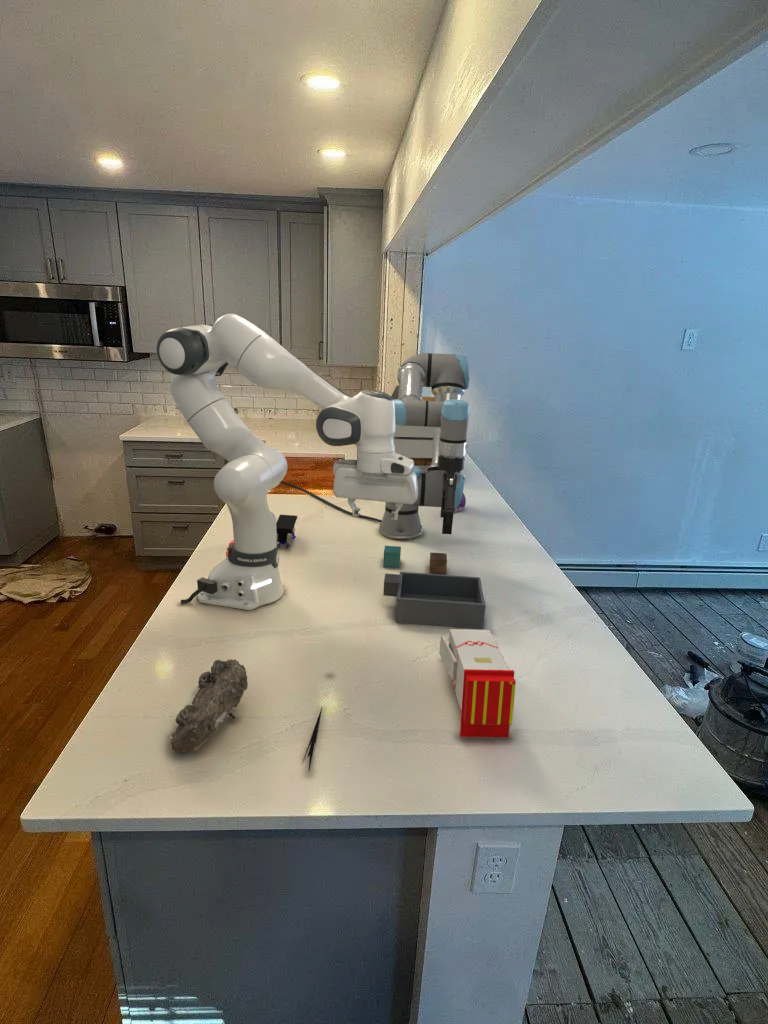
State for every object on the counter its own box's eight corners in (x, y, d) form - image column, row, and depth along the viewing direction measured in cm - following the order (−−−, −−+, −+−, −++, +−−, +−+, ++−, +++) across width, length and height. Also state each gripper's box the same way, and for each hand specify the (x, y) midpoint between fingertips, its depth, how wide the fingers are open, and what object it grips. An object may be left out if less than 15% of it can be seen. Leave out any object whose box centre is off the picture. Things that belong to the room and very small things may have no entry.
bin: (380, 621, 144) (382, 591, 141) (385, 592, 158) (386, 564, 155) (482, 629, 142) (486, 599, 139) (477, 599, 157) (480, 571, 154)
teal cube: (383, 566, 174) (383, 551, 172) (384, 560, 179) (385, 545, 177) (399, 567, 174) (400, 553, 172) (400, 561, 178) (400, 546, 177)
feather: (331, 679, 122) (336, 673, 122) (307, 777, 96) (313, 769, 95) (324, 675, 122) (329, 669, 121) (298, 772, 95) (304, 764, 95)
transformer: (381, 463, 289) (385, 382, 275) (444, 464, 292) (450, 384, 279) (389, 482, 257) (393, 392, 243) (459, 483, 261) (467, 394, 247)
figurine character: (292, 555, 182) (298, 532, 196) (292, 534, 179) (298, 513, 192) (272, 554, 182) (279, 532, 195) (270, 533, 179) (278, 512, 192)
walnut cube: (429, 574, 171) (430, 559, 169) (429, 567, 175) (430, 552, 174) (445, 575, 170) (447, 560, 169) (445, 568, 175) (446, 553, 173)
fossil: (195, 660, 117) (247, 628, 112) (227, 691, 120) (279, 661, 115) (146, 746, 98) (206, 711, 93) (185, 779, 101) (245, 748, 96)
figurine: (452, 514, 221) (455, 477, 216) (438, 506, 229) (441, 470, 224) (472, 511, 225) (475, 475, 220) (457, 503, 234) (460, 468, 229)
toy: (489, 613, 130) (525, 677, 101) (485, 667, 133) (518, 744, 104) (437, 612, 130) (457, 676, 101) (434, 666, 133) (453, 743, 103)
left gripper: (328, 461, 131) (329, 517, 136) (415, 468, 127) (413, 525, 131) (337, 455, 137) (337, 509, 142) (420, 461, 133) (418, 516, 137)
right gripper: (468, 467, 149) (461, 542, 156) (462, 446, 172) (456, 511, 179) (439, 466, 149) (433, 540, 156) (437, 444, 172) (432, 510, 180)
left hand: (375, 517), depth 136 cm, fingers open, 8 cm apart
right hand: (445, 525), depth 168 cm, fingers open, 13 cm apart
